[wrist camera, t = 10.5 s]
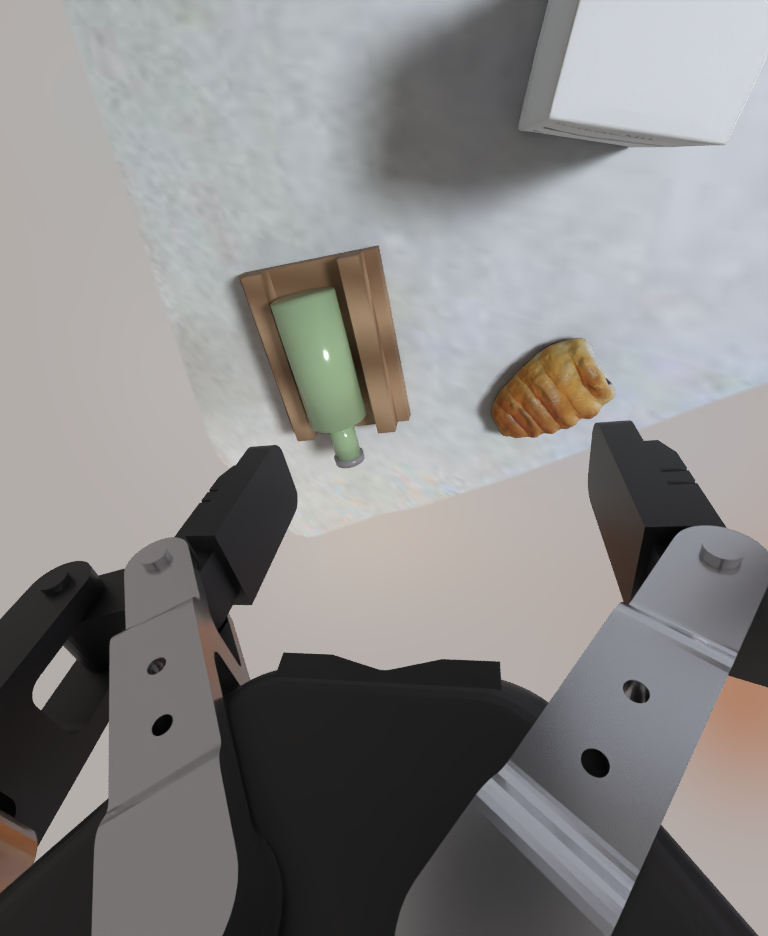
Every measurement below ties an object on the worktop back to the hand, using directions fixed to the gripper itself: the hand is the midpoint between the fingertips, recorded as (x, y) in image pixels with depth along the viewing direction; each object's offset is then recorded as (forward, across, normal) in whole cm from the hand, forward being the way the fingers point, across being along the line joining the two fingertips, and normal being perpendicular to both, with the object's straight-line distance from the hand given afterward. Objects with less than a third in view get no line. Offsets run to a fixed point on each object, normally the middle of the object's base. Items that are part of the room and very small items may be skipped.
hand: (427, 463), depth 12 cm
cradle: (+26, +11, +6) cm, 29 cm away
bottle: (+25, +11, +8) cm, 28 cm away
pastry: (+26, -7, +11) cm, 30 cm away
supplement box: (+27, -9, -9) cm, 29 cm away
